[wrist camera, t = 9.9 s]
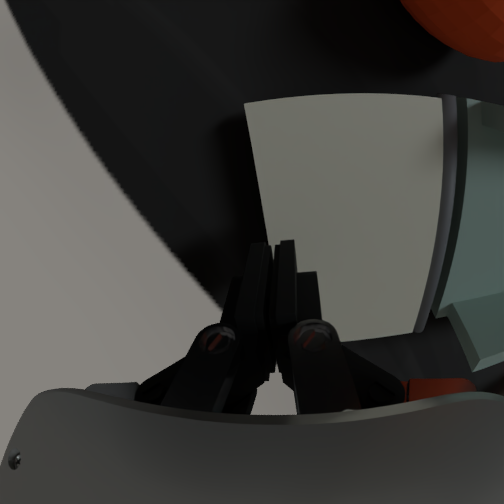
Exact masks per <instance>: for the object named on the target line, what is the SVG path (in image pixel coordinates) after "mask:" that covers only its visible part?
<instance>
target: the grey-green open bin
mask: <svg viewBox="0 0 504 504" xmlns="http://www.w3.org/2000/svg"><path fill="white" fill-rule="evenodd" d="M456 105H457V132H458V143H457V170H456V184H455V194H454V203H453V211H452V218H451V225H450V231H449V236H448V242H447V247H446V252H445V256H444V261H443V265H442V270H441V274H440V278H439V281H438V285H437V289H436V292H435V296H434V299H433V303H432V306H431V310H432V312H433V314H434V316H435V318H440V317H445V316H448V318H449V320H450V322H451V324H452V326H453V329H454V331H455V333H456V335H457V337H458V339H459V342H460V344H461V346H462V348H463V351H464V353H465V355H466V358H467V360H468V363H469V365H470V368H471V370H472V372H474V371H477V370H480V369H483V368H486V367H489V366H491V365H494V364H497V363H499V362H502V361H504V106H502V105H497V104H492V103H487V102H482V101H477V100H472V99H467V98H460V97H456Z"/></svg>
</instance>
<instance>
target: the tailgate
mask: <svg viewBox="0 0 504 504" xmlns="http://www.w3.org/2000/svg"><path fill="white" fill-rule="evenodd" d="M244 107H245V112H246V118H247V123H248V128H249V134H250V139H251V145H252V150H253V156H254V161H255V167H256V173H257V178H258V184H259V190H260V196H261V201H262V207H263V213H264V219H265V225H266V231H267V237H268V243H269V245H271V247H272V253H273V260H274V250H275V245H278V244H280V241H281V240H293V239H294V241H295V251H296V261H297V271H298V272H310V271H317V278H318V286H319V295H320V303H321V313H322V320H324V321H327V322H329V323H330V324H331V325H333V326H334V327H335V329H336V331H337V333H338V336H339V339H340V342H344V341H353V340H362V339H371V338H378V337H386V336H393V335H399V334H406V333H412V332H413V331H414V332H417V333H420V332H422V331H423V330H424V327H425V324H426V321H427V318H428V315H429V312H430V309H431V306H432V303H433V299H434V296H435V292H436V289H437V285H438V281H439V278H440V274H441V270H442V265H443V261H444V256H445V252H446V247H447V242H448V236H449V231H450V225H451V218H452V211H453V203H454V194H455V184H456V170H457V143H458V132H457V105H456V96H453V95H446V94H437V98H435V97H426V96H415V95H400V94H372V93H354V94H326V95H311V96H299V97H289V98H280V99H272V100H265V101H258V102H252V103H246V104H244Z"/></svg>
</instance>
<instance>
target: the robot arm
mask: <svg viewBox="0 0 504 504" xmlns="http://www.w3.org/2000/svg"><path fill="white" fill-rule="evenodd" d="M276 359H277V364H278V369H279V372H280V373H282V379H283V383H285V384H286V385H287V386H288V387H290V388H291V389H292V390H293V391H294V397H295V403H296V410H297V415H250V414H251V411H252V408H253V405H254V401H255V398H256V394H257V388H258V387H259V386H260V385H262V384H263V383H264V381H269V374H270V373H274V372H275V366H276ZM0 504H504V396H501V395H498V394H494V393H487V392H477V390H476V387H475V386H474V384H473V383H472V382H471V381H469V380H467V379H463V378H451V379H409V381H408V382H401V381H400V380H398V379H397V378H396V377H395V376H393V375H391V374H389V373H388V372H386V371H384V370H383V369H381V368H379V367H378V366H376V365H374V364H373V363H371V362H369V361H368V360H366V359H364V358H363V357H361V356H359V355H358V354H356V353H354V352H353V351H351V350H349V349H348V348H346V347H344V346H343V345H341V342H340V339H339V336H338V333H337V331H336V329H335V327H334V326H333V325H331V324H330V323H329V322H327V321H324V320H322V313H321V303H320V295H319V286H318V278H317V271H310V272H298V271H297V261H296V251H295V241H294V239H293V240H281V241H280V244H278V245H275V250H274V260H273V253H272V247H271V245H266V243H265V242H259V243H251V245H250V249H249V253H248V258H247V262H246V266H245V271H244V275H243V276H242V277H233V278H232V280H231V284H230V288H229V291H228V295H227V298H226V302H225V305H224V309H223V313H222V316H221V320H220V323H217V324H213V325H210V326H207V327H206V328H204V329H203V330H201V331H200V332H199V333H198V335H197V336H196V338H195V340H194V342H193V344H192V346H191V347H190V349H189V351H188V353H187V355H186V356H185V357H184V358H182V359H181V360H179V361H177V362H176V363H174V364H172V365H171V366H169V367H167V368H166V369H164V370H162V371H160V372H159V373H157V374H155V375H154V376H152V377H150V378H148V379H147V380H145V381H144V382H143V383H142V384H141V385H139V384H138V383H137V382H131V383H106V384H105V383H104V384H92V385H90V386H89V387H87V388H86V389H85V390H83V389H75V388H59V389H52V390H47V391H44V392H41V393H39V394H38V395H36V396H35V397H34V398H33V399H32V400H31V402H30V403H29V405H28V406H27V408H26V409H25V411H24V413H23V414H22V416H21V418H20V420H19V422H18V424H17V426H16V428H15V430H14V432H13V435H12V437H11V439H10V441H9V444H8V446H7V449H6V452H5V454H4V457H3V460H2V462H1V466H0Z"/></svg>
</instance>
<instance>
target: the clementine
mask: <svg viewBox="0 0 504 504" xmlns="http://www.w3.org/2000/svg"><path fill="white" fill-rule="evenodd" d="M400 1H401V3H402V5H403V6H404V7H405V9H406V10H407V11H408V12H409V13H410V15H411V16H412V17H413V18H414V19H415V21H416V22H418V23H419V24H420V25H421V26H422V27H423V28H424V29H425V30H426V31H427V32H428V33H429V34H431V35H432V36H434V37H435V38H437V39H438V40H439V41H441V42H442V43H444V44H446V45H447V46H449V47H451V48H453V49H455V50H457V51H459V52H461V53H463V54H465V55H467V56H469V57H474V58H478V59H482V60H487V61H491V62H503V61H504V0H400Z"/></svg>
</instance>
